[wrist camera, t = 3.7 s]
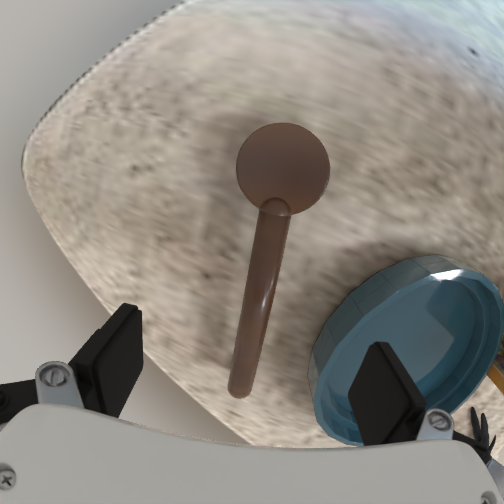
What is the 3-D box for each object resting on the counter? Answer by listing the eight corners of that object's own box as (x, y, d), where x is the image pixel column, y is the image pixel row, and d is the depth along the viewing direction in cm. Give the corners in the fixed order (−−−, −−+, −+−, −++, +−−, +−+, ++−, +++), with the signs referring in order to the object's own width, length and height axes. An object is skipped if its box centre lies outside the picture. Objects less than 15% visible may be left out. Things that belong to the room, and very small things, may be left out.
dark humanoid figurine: (456, 463, 20) (465, 498, 24) (499, 412, 21) (496, 465, 25) (422, 436, 28) (444, 479, 32) (462, 392, 29) (473, 449, 33)
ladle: (247, 124, 18) (243, 112, 14) (323, 139, 18) (341, 132, 14) (210, 366, 23) (202, 400, 19) (269, 375, 23) (270, 410, 19)
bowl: (343, 232, 20) (362, 247, 16) (504, 270, 20) (529, 285, 16) (283, 418, 25) (286, 448, 21) (432, 414, 26) (444, 435, 22)
